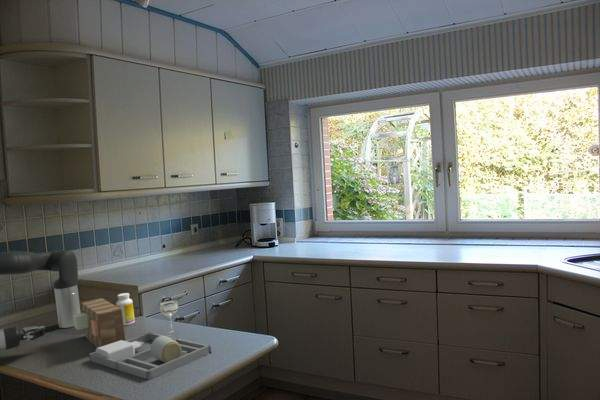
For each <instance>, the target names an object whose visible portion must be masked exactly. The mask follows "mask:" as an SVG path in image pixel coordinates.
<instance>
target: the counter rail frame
mask: <svg viewBox="0 0 600 400" xmlns="http://www.w3.org/2000/svg"><path fill="white" fill-rule="evenodd" d="M159 336H165V335H163V334H160V333H153V332H148V333H144V334H142V335H139V336H136V337H133V338H130V339H127V340H126V341H127V342H130V343H131V342H134V341H137V342H142V343H143V342H144V343H146V342H148V341H152V342H153V341H154V340H155V339H156V338H157V337H159ZM166 336H167V337H169V338H171V339H173V340H175V341H176V342H178V343H179V345H180V346H181V349H184V350H186V351H187V353H188V354H186V355H183V356H180V357H179V358H176V359H174V360H171V361H169V362H167V363H165V362H163V363H162V364H160V365H157V364H153V363H150V362H148V361H147V362H146V361H145V360H147V359H150V358H152V357H153V356H152V354H151V348H149V349H148V348H147V349H145V350H143V351H141V352H138V353H135V355H132V356H130V357H127V358H124V359H122V360H119V361H117V360H114V359H111V358H108V357H104V356H101V355H98V354H96V350H95V351H94V352H93V351H92V352H90V353H89V354H88V356H89V361H90V362H92V363H95V364H99V365H102V366H105V367H107V368H111V369H113V370H116V371H120V372H123V373H126V374H129V375H132V376H135V377H138V378H140V379H141V378H142V379H145V380H147V381H150V380H152V379H154V378H156V377H158V376H161V375H163V374H166V373H168V372H171V371H172V370H174V369H177V368H180V367H181V366H184V365H187V364H189V363H191V362H194V361H196V360H198V359H200V357H201V358H202V356H203V357H205V356H207V355H209V354H208V353H210V352H211V353H212V348H211V345H209V344H204V343H200V342H195V341H191V340H187V339H183V338H177V337H174V336H173V337H172V336H170V335H166ZM211 353H210V354H211ZM206 354H207V355H206ZM204 355H205V356H204ZM195 359H196V360H195Z"/></svg>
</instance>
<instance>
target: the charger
mask: <svg viewBox="0 0 600 400" xmlns="http://www.w3.org/2000/svg"><path fill="white" fill-rule="evenodd" d="M144 344H145V342H143V343H142V342H137V341H134V342H131V343H130V342H127V340H125V341H123V340H120V341H117V342H114V343H111V344H108V345H105V346H102V347H99V348H97V347H96V348H95V351H96V354H98V355H101V356H104V357H108V358H111V359H114V360H117V361H119V360H122V359H124V358H127V357H130V356H132V355H135V354H136V351H137V350H139V349H140V348H142V345H144Z"/></svg>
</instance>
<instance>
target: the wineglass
mask: <svg viewBox="0 0 600 400" xmlns="http://www.w3.org/2000/svg"><path fill="white" fill-rule="evenodd" d="M159 305H160V308H159V309H160V313H161V314H163V315H164V317H165V316H166V317H168V318H169V324H170V330H171V331H169V333H171V332H174V331H175V330H173V321H172V318H173V316H174V315H175V314H177V312H178V311H179V304H178V300H166V301H162V302H160V303H159Z"/></svg>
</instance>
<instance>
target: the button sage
mask: <svg viewBox="0 0 600 400" xmlns="http://www.w3.org/2000/svg"><path fill="white" fill-rule="evenodd" d="M73 317H74V325H75V326H74V328H75V329H76V330H77V331H79V330H83V329H84V328H89V325H88V316H87V313H86V312H84V313H82V312H81V313H80V314H76V315H73Z"/></svg>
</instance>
